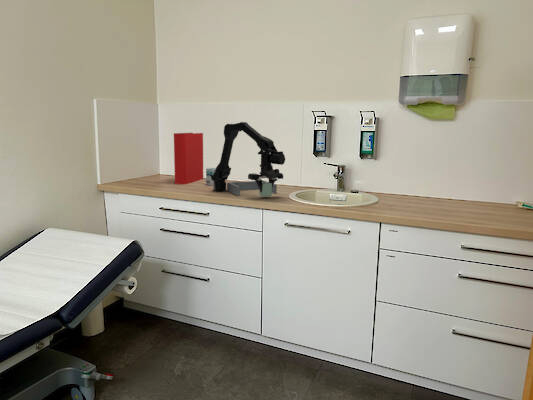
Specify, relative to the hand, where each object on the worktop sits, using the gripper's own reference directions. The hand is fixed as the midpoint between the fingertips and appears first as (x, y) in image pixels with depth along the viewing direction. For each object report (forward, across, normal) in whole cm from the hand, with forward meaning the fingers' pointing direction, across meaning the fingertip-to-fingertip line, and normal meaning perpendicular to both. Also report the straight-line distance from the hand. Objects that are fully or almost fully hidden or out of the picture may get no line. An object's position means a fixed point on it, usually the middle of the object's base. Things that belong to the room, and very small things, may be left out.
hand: (265, 191), depth 212 cm
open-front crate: (+3, 0, +18) cm, 18 cm away
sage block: (+2, 0, 0) cm, 2 cm away
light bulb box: (+4, -11, +51) cm, 52 cm away
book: (+4, -23, +70) cm, 74 cm away
